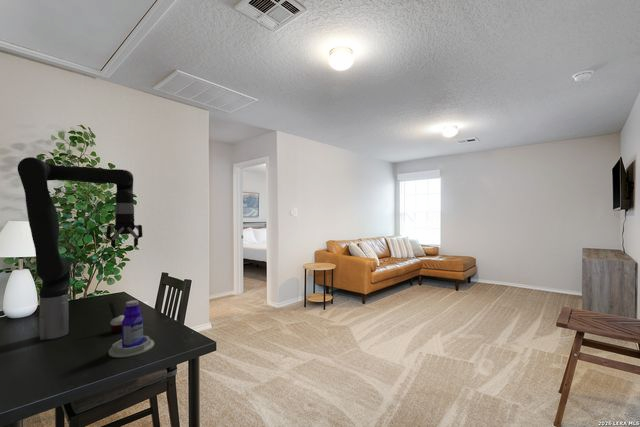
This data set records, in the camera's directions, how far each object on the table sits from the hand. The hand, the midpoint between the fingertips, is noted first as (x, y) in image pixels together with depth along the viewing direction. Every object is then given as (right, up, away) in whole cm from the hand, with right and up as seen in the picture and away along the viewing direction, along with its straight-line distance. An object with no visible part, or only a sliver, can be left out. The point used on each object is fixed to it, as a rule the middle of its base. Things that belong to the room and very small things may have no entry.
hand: (124, 247), depth 143 cm
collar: (+19, -36, -26) cm, 48 cm away
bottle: (+19, -36, -25) cm, 48 cm away
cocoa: (+3, -36, -8) cm, 37 cm away
